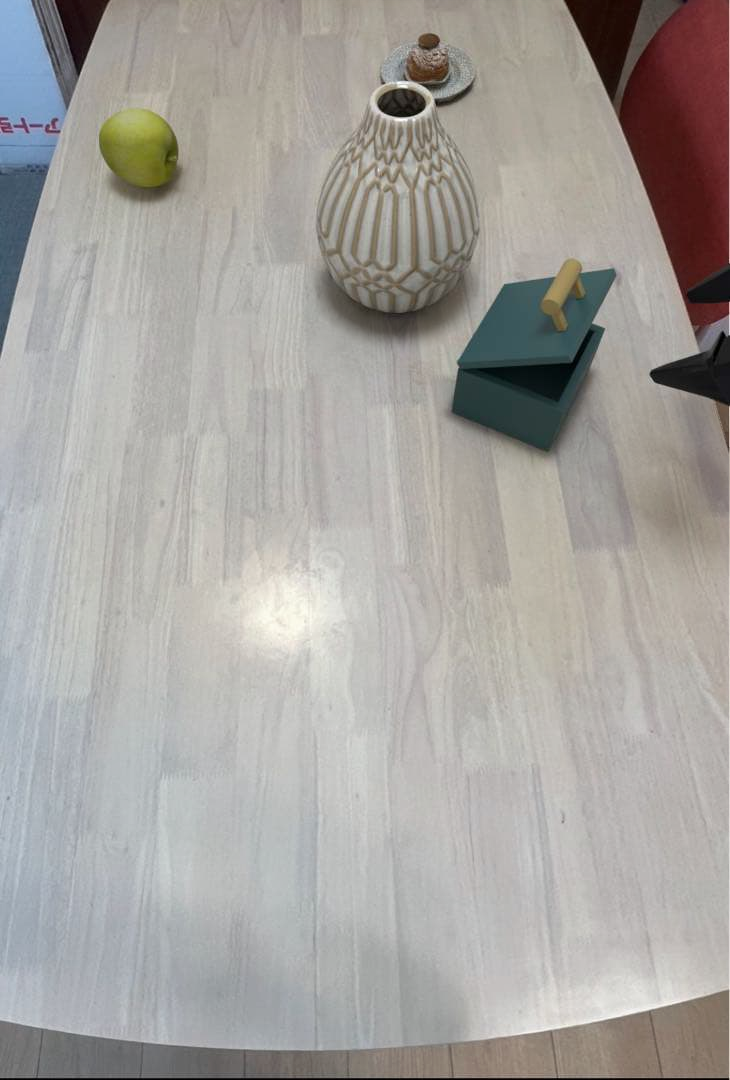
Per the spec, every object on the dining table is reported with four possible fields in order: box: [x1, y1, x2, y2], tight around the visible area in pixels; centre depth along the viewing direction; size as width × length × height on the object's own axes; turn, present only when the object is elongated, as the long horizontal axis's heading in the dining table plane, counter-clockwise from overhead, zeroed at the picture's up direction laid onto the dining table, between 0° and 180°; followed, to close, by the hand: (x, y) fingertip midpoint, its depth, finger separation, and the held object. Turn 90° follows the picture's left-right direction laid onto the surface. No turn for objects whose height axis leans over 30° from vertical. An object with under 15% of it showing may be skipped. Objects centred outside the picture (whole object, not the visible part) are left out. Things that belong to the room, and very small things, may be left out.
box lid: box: [456, 258, 617, 369], centre depth 64 cm, size 11×11×4 cm
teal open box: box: [451, 323, 606, 453], centre depth 71 cm, size 10×11×6 cm
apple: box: [98, 107, 180, 188], centre depth 84 cm, size 8×9×8 cm
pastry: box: [380, 32, 477, 104], centre depth 94 cm, size 12×12×5 cm
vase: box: [315, 81, 481, 314], centre depth 71 cm, size 16×16×20 cm
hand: (670, 335), depth 60 cm, fingers open, 9 cm apart
